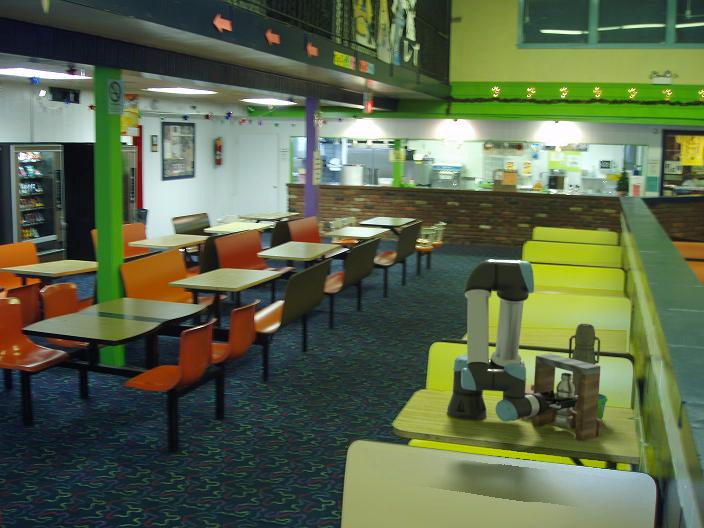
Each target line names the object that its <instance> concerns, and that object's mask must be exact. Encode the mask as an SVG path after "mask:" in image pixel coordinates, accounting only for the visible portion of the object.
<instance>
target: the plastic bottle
mask: <svg viewBox="0 0 704 528" xmlns="http://www.w3.org/2000/svg"><path fill="white" fill-rule="evenodd" d="M572 375H573V373H570V372H569V373H568V372H562V373H561V377H560V381H559V382H558V383H557V384H556V392H557V399H563V398H570V397H571V396H574V392H575V387H574V385H573V383H572ZM554 420H555V422H554V424H555V425H556V426H557V427H559V428H564V429H565V428H567V429H569V428H570V427H571V426H572V424H573V415H572V407H571V408H566V409H561V410H556V414H555V419H554Z"/></svg>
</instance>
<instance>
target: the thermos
mask: <svg viewBox="0 0 704 528" xmlns="http://www.w3.org/2000/svg"><path fill="white" fill-rule="evenodd" d="M573 339H574V345H575V346H574V350H573V351H572V347H573V346H572V345H573ZM568 341H569V342H568V345H569V346H568V358H570V359H574V360H578V361H582V362H586V363H590V364H594V365H597V364H599V363H600V354H601V340H600V338H599V337H598V336H596V330H595V327H594V325H593V324H589V323H580V324H577V327H576V329H575V334H573V335H571V337H569V339H568ZM596 341H597V352H596V353H597V356H596V353H595V344H596ZM571 382H572V383H573V385H574V387H575V392H574V396H576V395H578V382H579V373H575V372H572V380H571ZM572 410H573V411H576V412H577V403H576V405H575V407H572Z"/></svg>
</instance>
